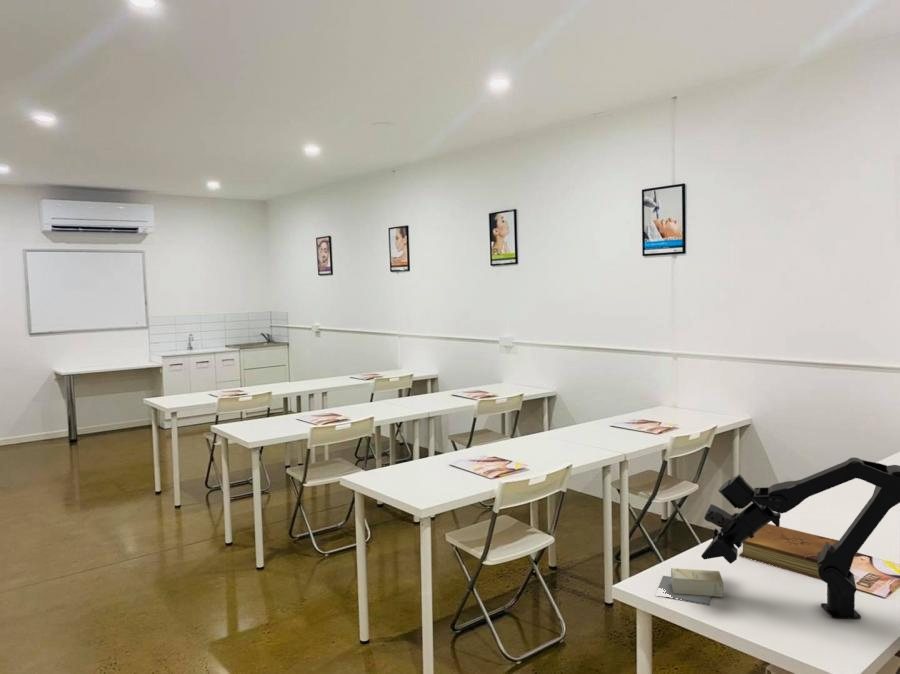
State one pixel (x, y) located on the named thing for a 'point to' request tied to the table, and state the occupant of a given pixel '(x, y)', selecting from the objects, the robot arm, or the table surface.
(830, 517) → the table surface
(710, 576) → the skincare box
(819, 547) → the diary
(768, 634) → the table surface
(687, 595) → the mat
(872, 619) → the table surface
